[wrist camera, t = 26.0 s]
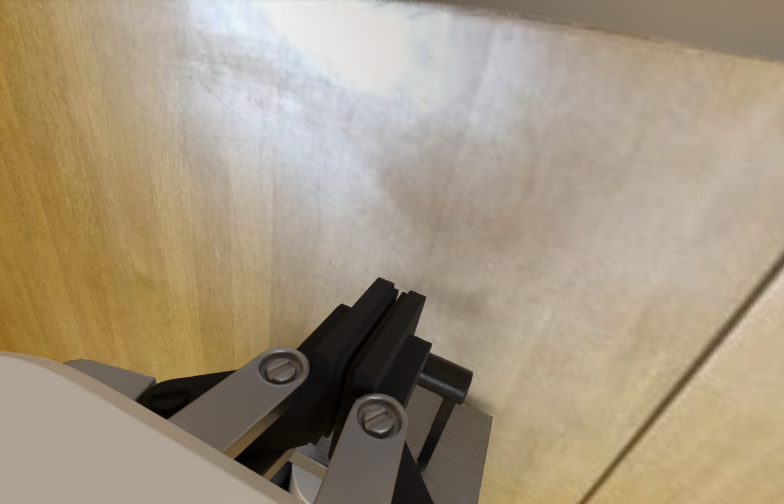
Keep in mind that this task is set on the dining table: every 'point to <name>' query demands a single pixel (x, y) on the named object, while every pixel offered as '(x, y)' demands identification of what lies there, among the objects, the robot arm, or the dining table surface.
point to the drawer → (428, 437)
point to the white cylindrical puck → (303, 484)
